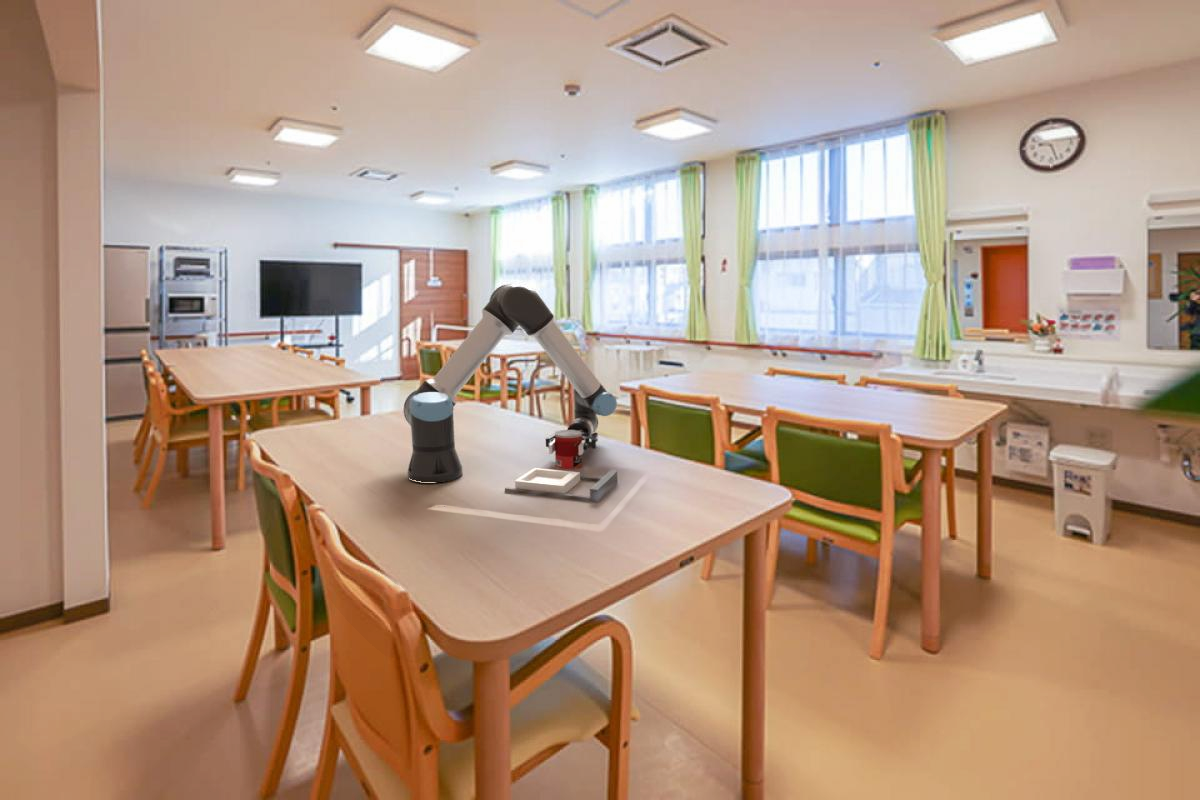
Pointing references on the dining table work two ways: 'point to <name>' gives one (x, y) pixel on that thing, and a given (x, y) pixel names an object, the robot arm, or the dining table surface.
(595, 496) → the slide board
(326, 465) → the dining table surface
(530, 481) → the carriage
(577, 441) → the canned food
